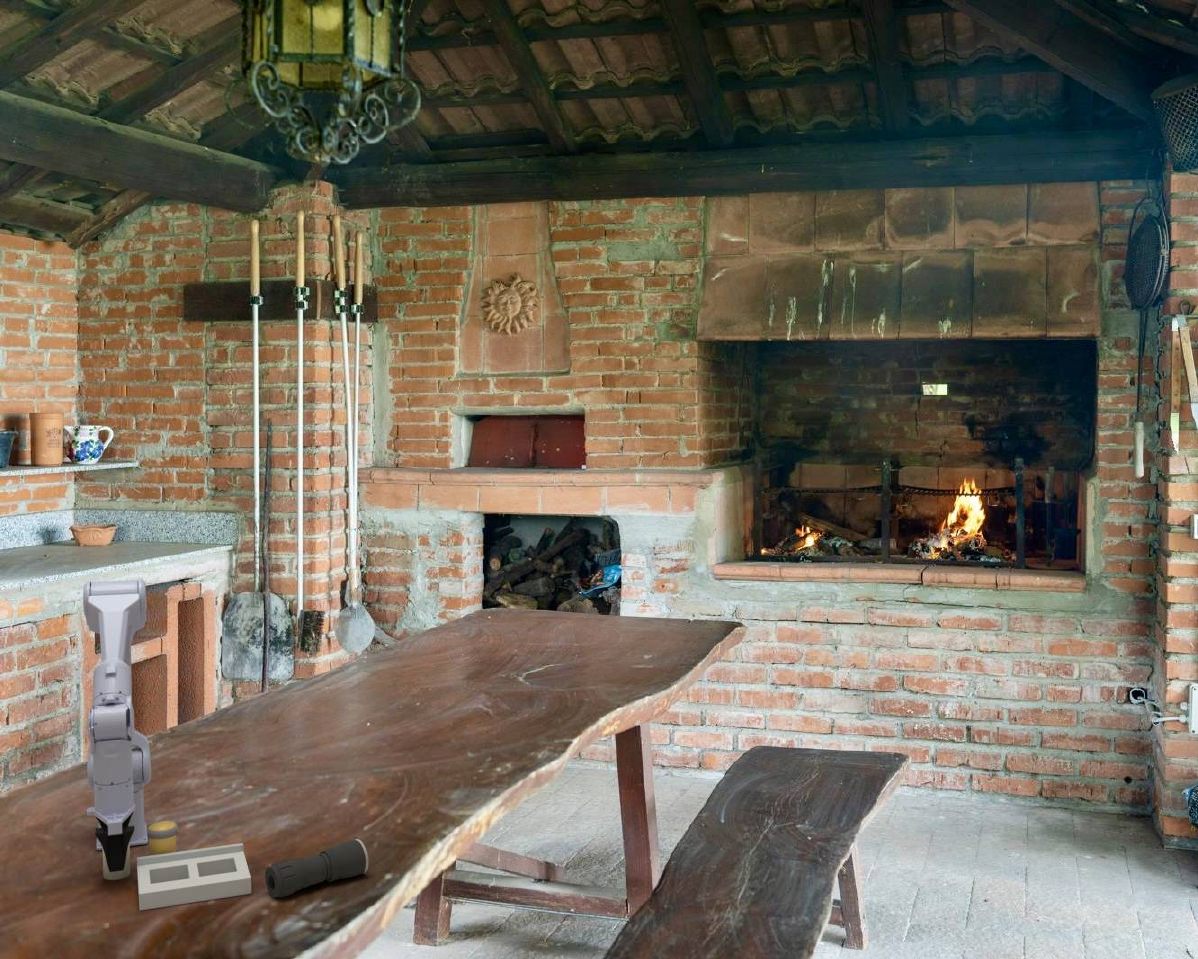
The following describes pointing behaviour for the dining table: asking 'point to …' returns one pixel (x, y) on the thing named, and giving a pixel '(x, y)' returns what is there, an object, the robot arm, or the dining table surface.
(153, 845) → the yellow cylinder grey rim
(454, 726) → the dining table surface
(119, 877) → the cream grey-rimmed peg
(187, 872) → the housing
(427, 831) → the dining table surface
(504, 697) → the dining table surface
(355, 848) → the flashlight
